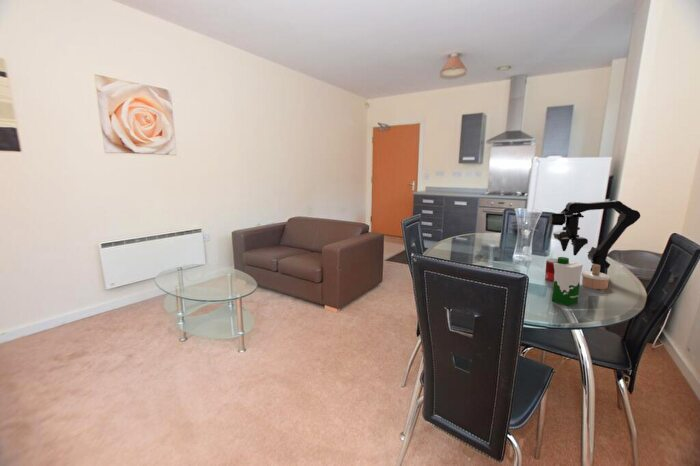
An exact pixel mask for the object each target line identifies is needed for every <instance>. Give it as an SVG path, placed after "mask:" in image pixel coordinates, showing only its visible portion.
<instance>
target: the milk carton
mask: <svg viewBox="0 0 700 466" xmlns="http://www.w3.org/2000/svg"><path fill="white" fill-rule="evenodd" d="M557 259H558V262H555V263H553V264H554V271H555V273H554V282H553V286H552V287H553V288H552V296H551V302H553V303H554V302H555V303H556V304H557V303H558V304H559V305H560V304H561V305H563V306H566V307H570V306H573V305H576V304H579V296H578V295H579V285H581V283H580V282H581V276H582V272H583V271H582V270H583V266H584V265H583V264H580V263H577V262H573V261H570V258H568V257H564V256H559V257H557Z"/></svg>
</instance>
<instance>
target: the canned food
mask: <svg viewBox="0 0 700 466" xmlns="http://www.w3.org/2000/svg"><path fill="white" fill-rule="evenodd" d="M555 262H558V258H547V259H546V261H545V272H544V273H545V274H544V279H545V280H546V281H549V282H553V283H554V273H555V271H554V264H553V263H555Z"/></svg>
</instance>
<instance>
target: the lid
mask: <svg viewBox="0 0 700 466" xmlns="http://www.w3.org/2000/svg"><path fill="white" fill-rule="evenodd" d="M592 265H593V267H592V266H591V268H592V271H591V270H588V271H581V276H583V277H585V278H589V279H593V280H610V279H611V276H610V275H609V274H608V273H607V274H604V273H600V265H598V264H592Z"/></svg>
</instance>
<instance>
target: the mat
mask: <svg viewBox="0 0 700 466" xmlns="http://www.w3.org/2000/svg"><path fill="white" fill-rule="evenodd" d="M598 296H599V297H601V296H602V297H603V296H604V297H605V296H606V297H607V296H609V295H608V294H606V293H604V292H602V291H601V290H599V289H594V288H589V287H586V286H584V285H582V284H580V285H579V295H578V297H598Z"/></svg>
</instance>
